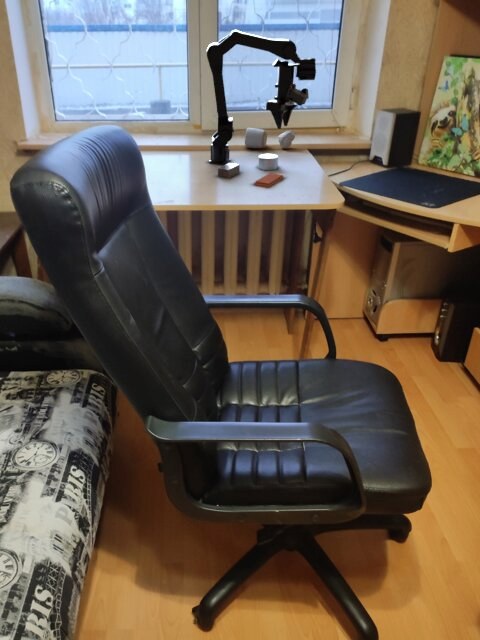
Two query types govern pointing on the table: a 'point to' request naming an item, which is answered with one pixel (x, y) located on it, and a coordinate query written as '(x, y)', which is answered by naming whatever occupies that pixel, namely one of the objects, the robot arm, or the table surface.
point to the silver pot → (268, 162)
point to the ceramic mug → (255, 138)
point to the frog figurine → (286, 139)
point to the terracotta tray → (268, 180)
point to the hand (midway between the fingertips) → (282, 127)
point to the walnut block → (228, 170)
